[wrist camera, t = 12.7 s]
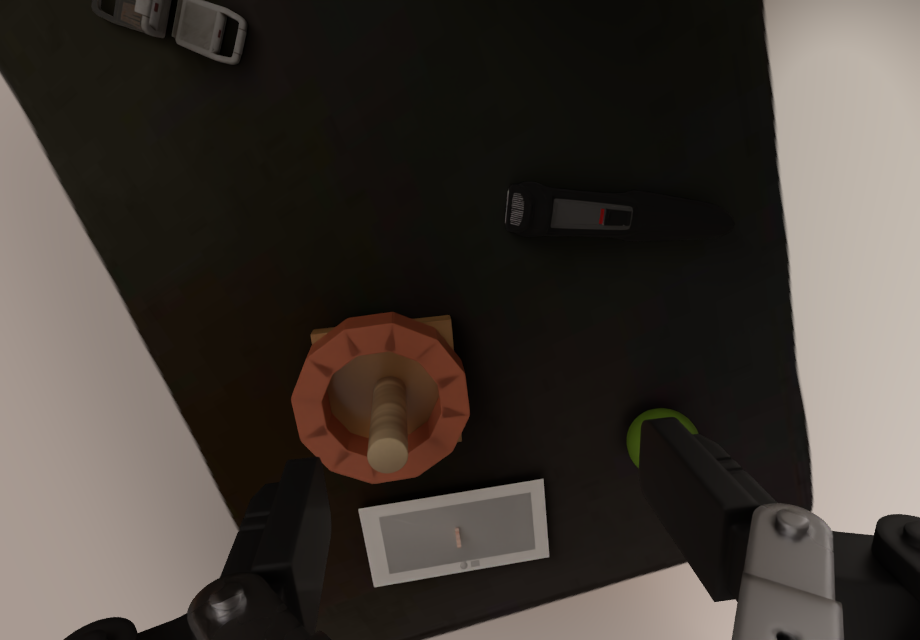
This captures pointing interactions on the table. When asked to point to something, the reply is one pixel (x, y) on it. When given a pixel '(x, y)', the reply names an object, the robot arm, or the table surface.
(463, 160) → the table surface
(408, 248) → the table surface
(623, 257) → the table surface
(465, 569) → the touchpad
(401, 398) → the stand
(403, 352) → the ring
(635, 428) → the snail figurine
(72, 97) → the table surface
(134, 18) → the strap clip
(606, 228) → the electric trimmer
